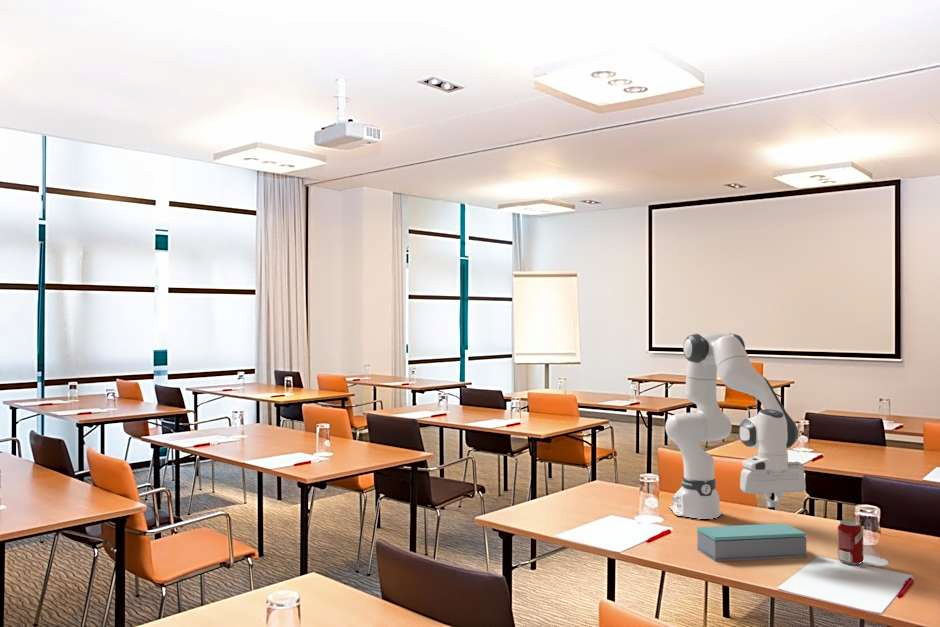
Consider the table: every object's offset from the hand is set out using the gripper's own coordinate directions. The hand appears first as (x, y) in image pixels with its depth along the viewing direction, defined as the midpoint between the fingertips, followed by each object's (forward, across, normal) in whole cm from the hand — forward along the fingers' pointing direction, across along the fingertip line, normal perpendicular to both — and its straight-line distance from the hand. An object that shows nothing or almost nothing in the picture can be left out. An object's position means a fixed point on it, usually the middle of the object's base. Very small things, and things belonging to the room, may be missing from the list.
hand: (773, 506), depth 229 cm
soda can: (+15, -19, +10) cm, 26 cm away
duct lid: (+9, +6, -3) cm, 11 cm away
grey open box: (+15, +6, -3) cm, 17 cm away
